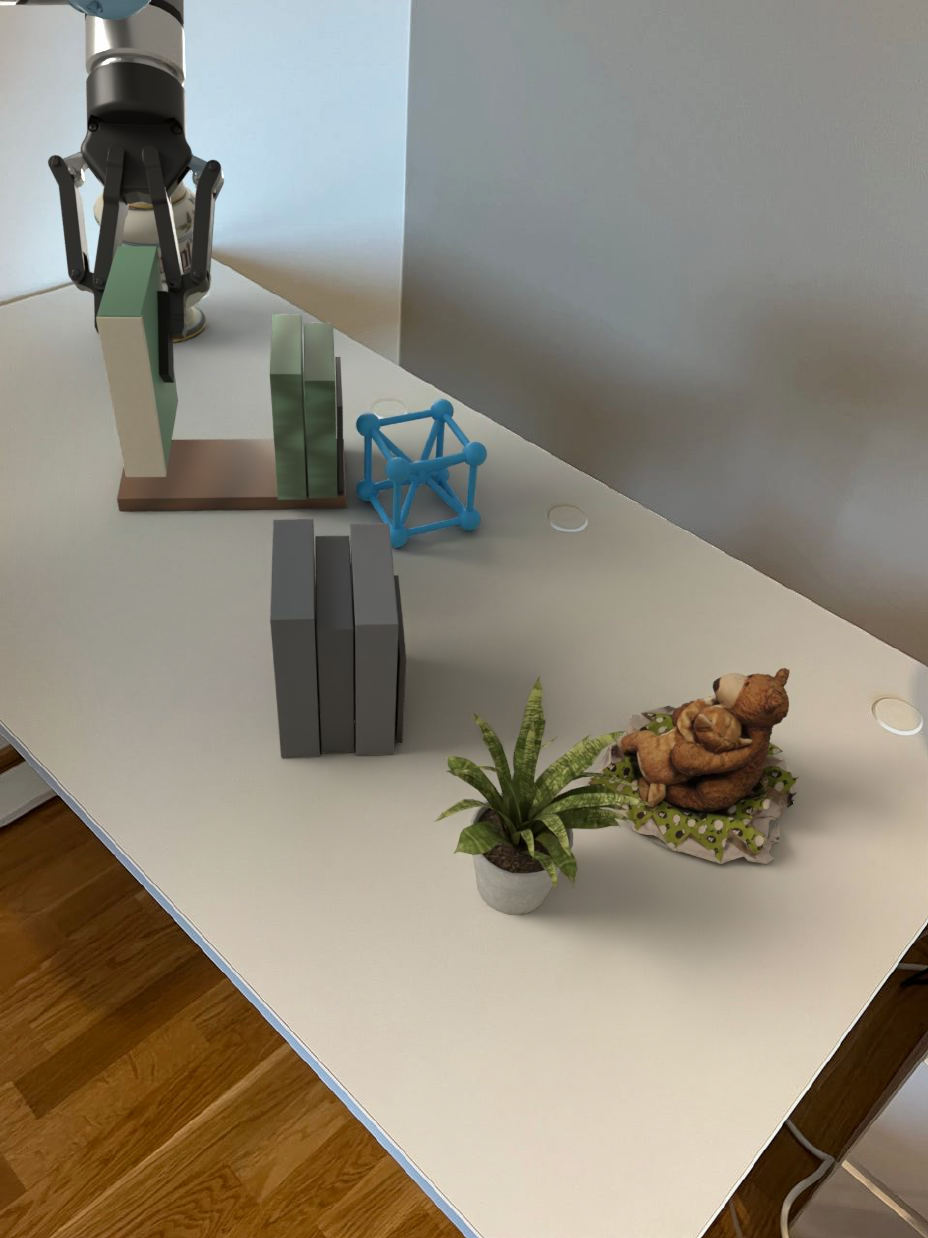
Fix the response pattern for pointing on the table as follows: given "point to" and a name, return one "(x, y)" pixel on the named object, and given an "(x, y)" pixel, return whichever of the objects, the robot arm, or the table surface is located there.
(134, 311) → the green book
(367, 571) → the grey books
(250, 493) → the book shelf
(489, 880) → the house plant
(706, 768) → the bear figurine
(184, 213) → the apothecary jar
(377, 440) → the molecular structure
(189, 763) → the table surface
